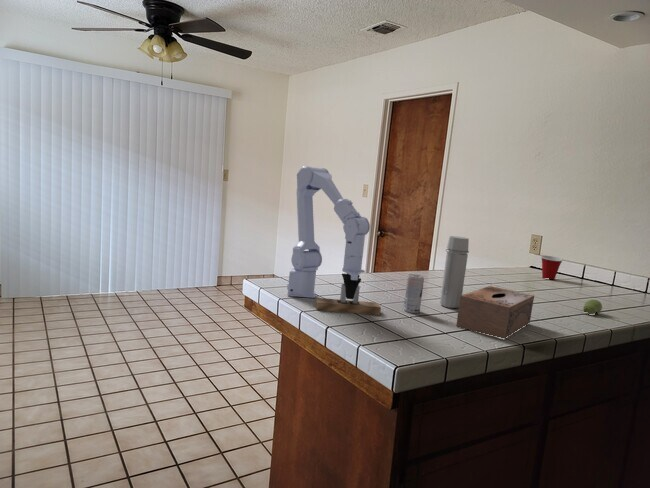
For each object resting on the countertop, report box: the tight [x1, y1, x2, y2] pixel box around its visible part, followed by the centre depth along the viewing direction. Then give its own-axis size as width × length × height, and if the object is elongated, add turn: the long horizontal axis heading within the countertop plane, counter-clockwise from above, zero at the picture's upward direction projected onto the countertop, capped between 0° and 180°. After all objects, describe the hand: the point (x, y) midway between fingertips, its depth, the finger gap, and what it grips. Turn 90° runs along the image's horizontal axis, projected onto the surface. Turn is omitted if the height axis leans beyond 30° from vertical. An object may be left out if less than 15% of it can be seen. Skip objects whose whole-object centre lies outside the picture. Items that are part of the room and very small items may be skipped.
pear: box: [582, 299, 603, 314], centre depth 172 cm, size 6×5×10 cm
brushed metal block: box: [339, 283, 361, 305], centre depth 143 cm, size 6×2×6 cm, turn 94°
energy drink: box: [403, 273, 425, 314], centre depth 149 cm, size 5×5×12 cm
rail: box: [315, 297, 382, 316], centre depth 143 cm, size 20×5×2 cm, turn 93°
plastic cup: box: [540, 255, 564, 280], centre depth 242 cm, size 11×11×12 cm
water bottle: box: [439, 235, 470, 309], centre depth 159 cm, size 9×8×25 cm
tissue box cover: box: [455, 285, 535, 338], centre depth 142 cm, size 26×14×10 cm, turn 141°
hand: (349, 297), depth 143 cm, fingers closed on brushed metal block, 2 cm apart
